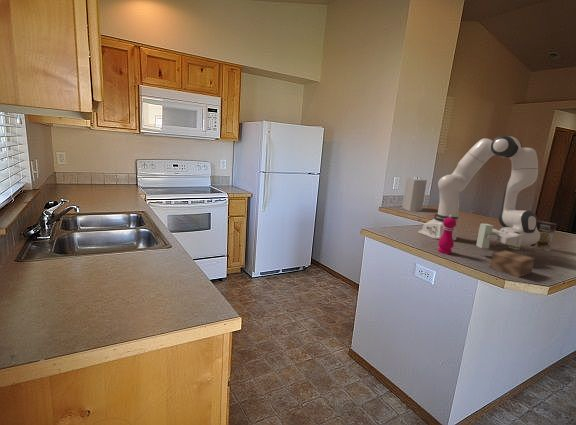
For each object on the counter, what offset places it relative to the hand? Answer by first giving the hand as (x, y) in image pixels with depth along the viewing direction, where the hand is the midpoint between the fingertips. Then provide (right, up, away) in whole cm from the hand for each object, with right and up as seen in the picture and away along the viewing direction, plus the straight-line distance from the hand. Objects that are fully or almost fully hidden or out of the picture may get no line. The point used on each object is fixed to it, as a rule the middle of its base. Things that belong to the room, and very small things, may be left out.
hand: (483, 234), depth 163 cm
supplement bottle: (+31, -9, +21) cm, 39 cm away
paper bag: (+16, +14, +131) cm, 132 cm away
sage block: (0, -6, +1) cm, 7 cm away
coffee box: (+48, -10, +24) cm, 55 cm away
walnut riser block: (+1, -15, -18) cm, 23 cm away
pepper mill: (-18, -10, +3) cm, 21 cm away
